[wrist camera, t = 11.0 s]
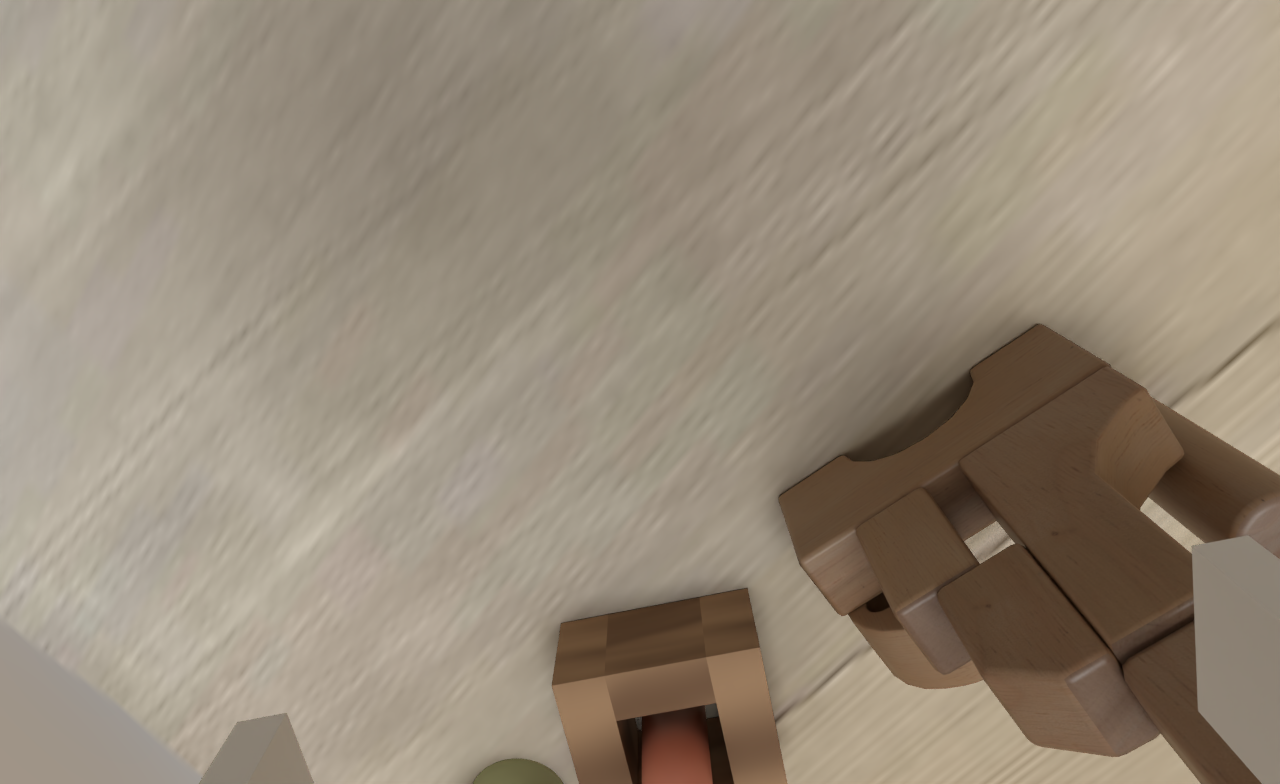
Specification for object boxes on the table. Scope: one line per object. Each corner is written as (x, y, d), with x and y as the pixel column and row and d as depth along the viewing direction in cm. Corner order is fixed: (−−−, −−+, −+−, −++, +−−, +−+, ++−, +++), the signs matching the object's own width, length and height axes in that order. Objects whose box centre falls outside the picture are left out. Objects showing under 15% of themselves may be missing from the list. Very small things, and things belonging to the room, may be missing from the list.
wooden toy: (855, 600, 45) (1090, 1168, 22) (775, 496, 44) (934, 985, 20) (1148, 416, 43) (1793, 834, 19) (1074, 297, 41) (1677, 590, 17)
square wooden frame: (561, 623, 46) (551, 685, 41) (747, 588, 45) (759, 647, 40) (602, 777, 48) (598, 852, 44) (779, 745, 48) (794, 818, 43)
